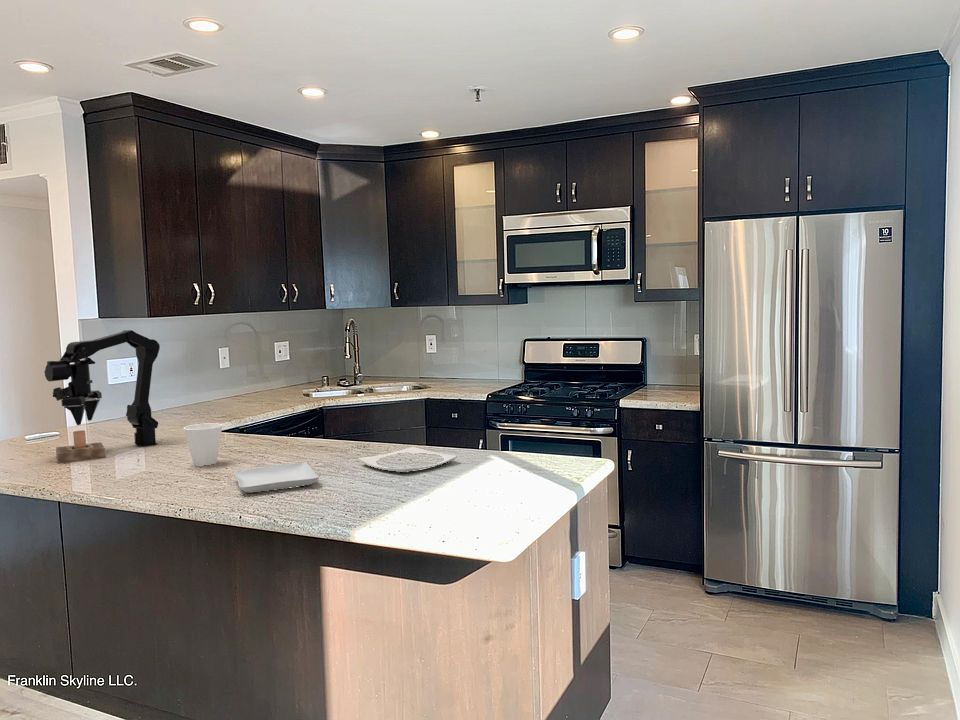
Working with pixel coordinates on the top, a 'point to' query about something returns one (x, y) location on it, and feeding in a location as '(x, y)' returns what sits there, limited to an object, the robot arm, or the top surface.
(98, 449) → the socket block
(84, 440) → the peg
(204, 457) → the cup
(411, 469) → the plate
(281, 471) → the salad plate
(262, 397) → the top surface
